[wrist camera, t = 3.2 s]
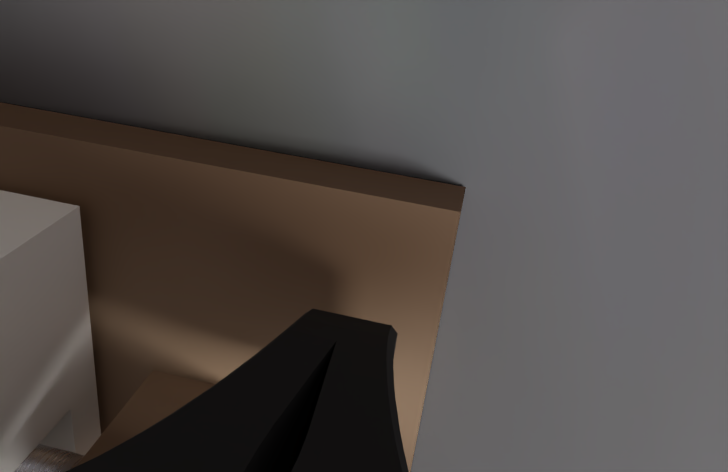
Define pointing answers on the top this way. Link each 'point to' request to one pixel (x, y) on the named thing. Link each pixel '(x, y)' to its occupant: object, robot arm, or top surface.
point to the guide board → (229, 256)
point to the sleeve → (44, 331)
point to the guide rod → (49, 460)
